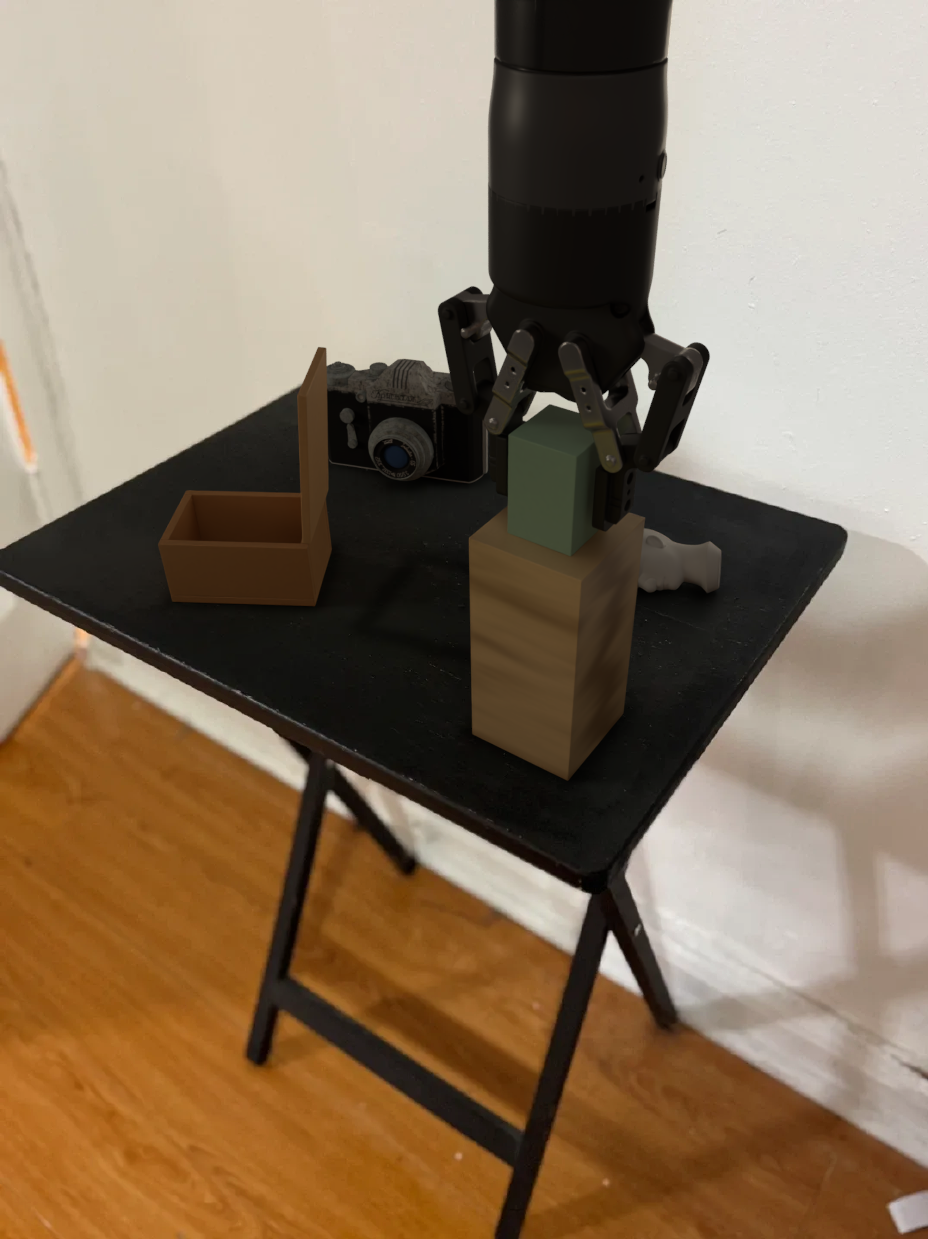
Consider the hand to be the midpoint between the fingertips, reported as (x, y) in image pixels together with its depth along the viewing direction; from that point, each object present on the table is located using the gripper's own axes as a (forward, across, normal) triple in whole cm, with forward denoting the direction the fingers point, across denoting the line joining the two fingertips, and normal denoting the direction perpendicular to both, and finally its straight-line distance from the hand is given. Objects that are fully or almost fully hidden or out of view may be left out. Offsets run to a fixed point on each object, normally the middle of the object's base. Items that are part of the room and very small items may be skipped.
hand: (559, 504), depth 55 cm
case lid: (+5, -22, +4) cm, 23 cm away
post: (+16, 0, 0) cm, 16 cm away
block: (+1, 0, 0) cm, 1 cm away
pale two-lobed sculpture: (+17, 0, +17) cm, 24 cm away
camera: (+17, -27, +19) cm, 37 cm away
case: (+16, -27, +1) cm, 32 cm away
